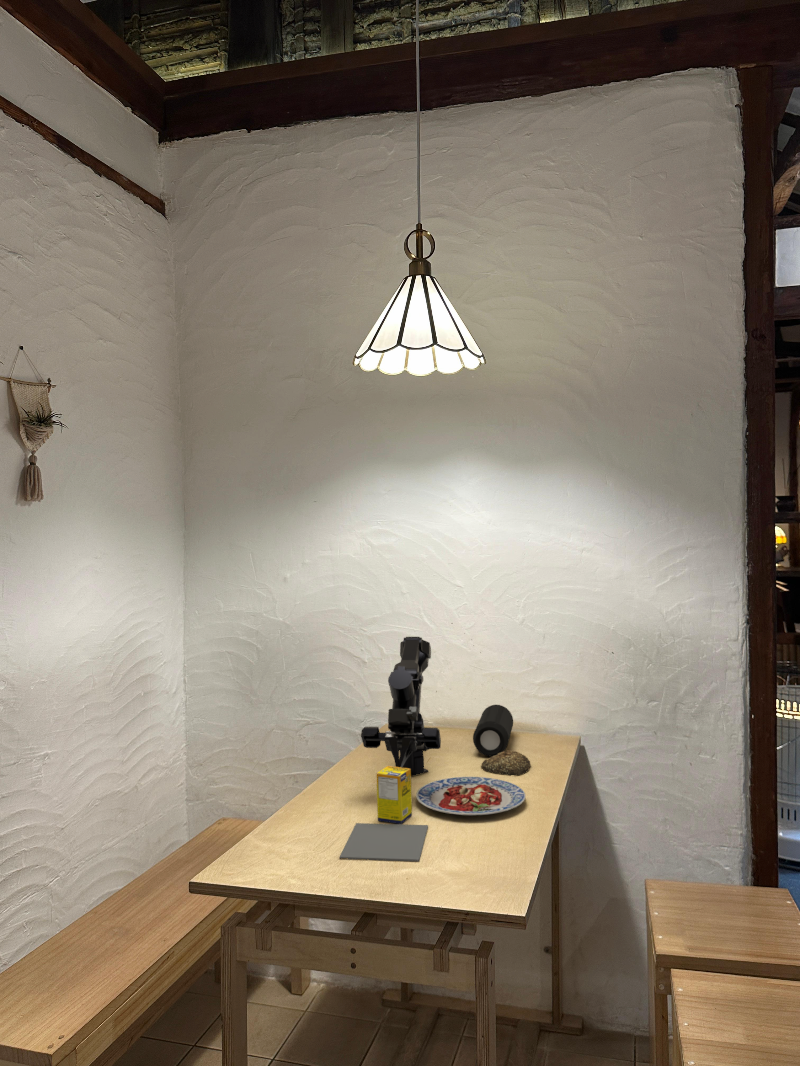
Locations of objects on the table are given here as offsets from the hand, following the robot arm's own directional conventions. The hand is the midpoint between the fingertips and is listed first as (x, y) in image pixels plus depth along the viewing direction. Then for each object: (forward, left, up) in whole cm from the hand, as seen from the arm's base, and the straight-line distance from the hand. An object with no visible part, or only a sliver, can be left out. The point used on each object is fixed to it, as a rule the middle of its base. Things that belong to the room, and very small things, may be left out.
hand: (398, 770), depth 193 cm
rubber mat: (+15, -14, -9) cm, 22 cm away
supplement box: (+5, -5, -9) cm, 11 cm away
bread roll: (-5, +40, -9) cm, 41 cm away
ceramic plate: (+8, +15, -9) cm, 19 cm away
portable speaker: (-23, +51, -9) cm, 57 cm away
